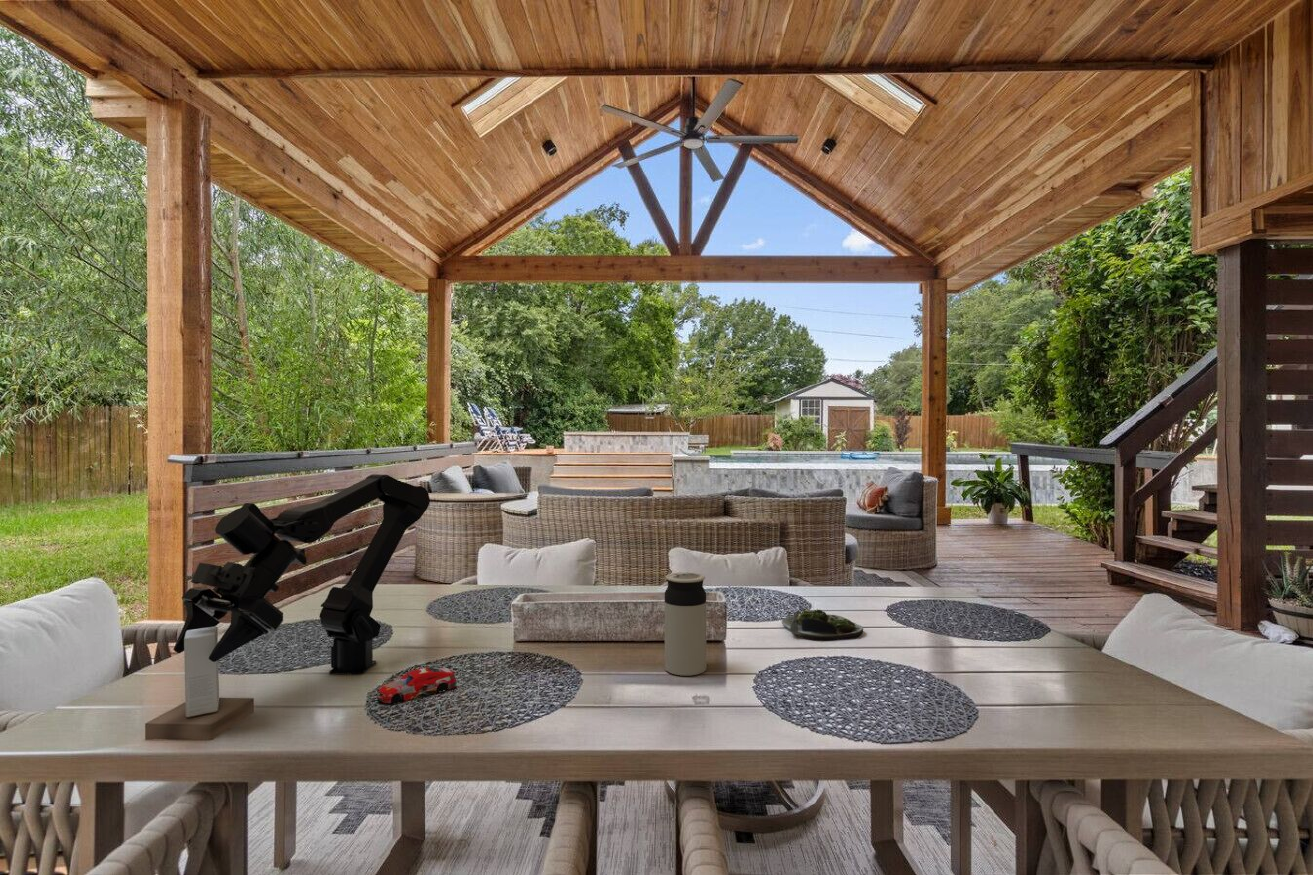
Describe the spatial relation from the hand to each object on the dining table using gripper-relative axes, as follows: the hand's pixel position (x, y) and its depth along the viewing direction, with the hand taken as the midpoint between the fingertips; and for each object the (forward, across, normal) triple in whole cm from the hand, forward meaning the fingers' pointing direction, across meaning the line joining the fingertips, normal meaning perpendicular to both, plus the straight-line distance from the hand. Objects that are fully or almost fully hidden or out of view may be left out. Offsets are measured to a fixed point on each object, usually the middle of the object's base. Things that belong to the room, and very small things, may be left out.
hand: (193, 656), depth 103 cm
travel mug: (-32, +57, +48) cm, 82 cm away
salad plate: (-58, +75, +75) cm, 121 cm away
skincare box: (+5, 0, +7) cm, 9 cm away
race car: (-10, +20, +26) cm, 35 cm away
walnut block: (+8, 0, +9) cm, 12 cm away
